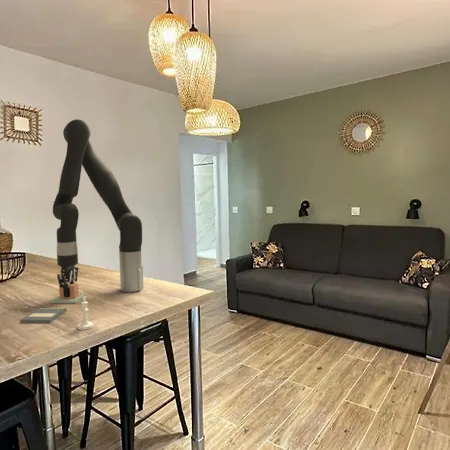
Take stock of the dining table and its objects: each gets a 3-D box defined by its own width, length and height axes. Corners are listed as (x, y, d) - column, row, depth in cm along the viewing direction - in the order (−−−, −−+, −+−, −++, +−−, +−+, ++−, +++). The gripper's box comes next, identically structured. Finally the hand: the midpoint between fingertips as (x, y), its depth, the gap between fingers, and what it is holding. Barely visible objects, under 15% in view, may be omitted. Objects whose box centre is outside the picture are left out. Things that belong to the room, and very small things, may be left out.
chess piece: (95, 323, 115) (94, 294, 114) (90, 329, 110) (89, 298, 109) (80, 324, 115) (79, 294, 113) (74, 330, 110) (73, 298, 109)
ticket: (66, 310, 127) (66, 307, 127) (50, 322, 116) (50, 319, 115) (39, 310, 127) (39, 307, 127) (20, 322, 116) (20, 319, 116)
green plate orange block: (85, 296, 144) (84, 282, 143) (76, 303, 135) (75, 288, 134) (61, 296, 144) (60, 282, 143) (50, 303, 135) (49, 288, 134)
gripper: (68, 256, 131) (70, 301, 133) (84, 249, 145) (85, 290, 147) (48, 256, 131) (51, 301, 133) (66, 249, 145) (68, 290, 147)
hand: (69, 295), depth 140 cm, fingers closed on green plate orange block, 3 cm apart
